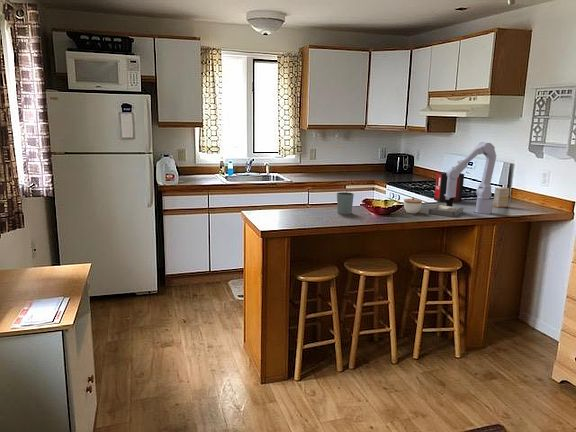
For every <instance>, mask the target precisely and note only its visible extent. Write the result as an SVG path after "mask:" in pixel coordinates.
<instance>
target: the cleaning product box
mask: <svg viewBox="0 0 576 432" xmlns="http://www.w3.org/2000/svg"><path fill="white" fill-rule="evenodd" d="M446 173H447V172H445V171H444V172H443V171H442V172H441V171H439V172H437V171H436V173H435V175H436V176H435V185H434V197H433V200H434V201H435V202H438V203H446V201H445V198H446V196H444V194H446V188H447V179H448V177H447V175H446ZM464 180H465V173H462V172H461V173H460V174H459V177H458V178H457V184H456V194H455V195H456V197H453V198H455V201H454V203H462V199H463V192H464V191H463V189H464V182H465V181H464Z"/></svg>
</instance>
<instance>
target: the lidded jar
mask: <svg viewBox="0 0 576 432" xmlns="http://www.w3.org/2000/svg"><path fill="white" fill-rule="evenodd" d="M403 201H404V202H403V207H404V210H405V211H406V213H408V214H417V213H418V212H420V210H421V208H422V205H423V204H422V203H423V200H422V199H418V198H417V199H416V198H415V197H411V198H404V200H403Z"/></svg>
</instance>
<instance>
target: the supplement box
mask: <svg viewBox="0 0 576 432" xmlns="http://www.w3.org/2000/svg"><path fill="white" fill-rule="evenodd" d="M509 195H510V188H509V187H506V186H505V187H494V195H493V206H492V207H493V208H508V204H509Z"/></svg>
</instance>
